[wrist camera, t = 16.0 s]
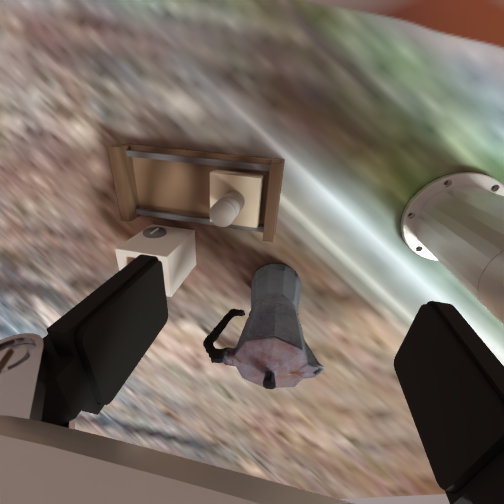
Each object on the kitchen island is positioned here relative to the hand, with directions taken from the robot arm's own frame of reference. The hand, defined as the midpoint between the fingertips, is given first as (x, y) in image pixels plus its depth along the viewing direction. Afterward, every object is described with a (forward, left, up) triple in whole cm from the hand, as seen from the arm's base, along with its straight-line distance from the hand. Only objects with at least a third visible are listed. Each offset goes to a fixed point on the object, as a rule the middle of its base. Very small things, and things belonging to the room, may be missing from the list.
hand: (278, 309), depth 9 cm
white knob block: (+20, +15, -30) cm, 39 cm away
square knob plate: (+8, +4, -29) cm, 30 cm away
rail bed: (+14, +4, -30) cm, 34 cm away
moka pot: (+1, +20, -31) cm, 36 cm away
